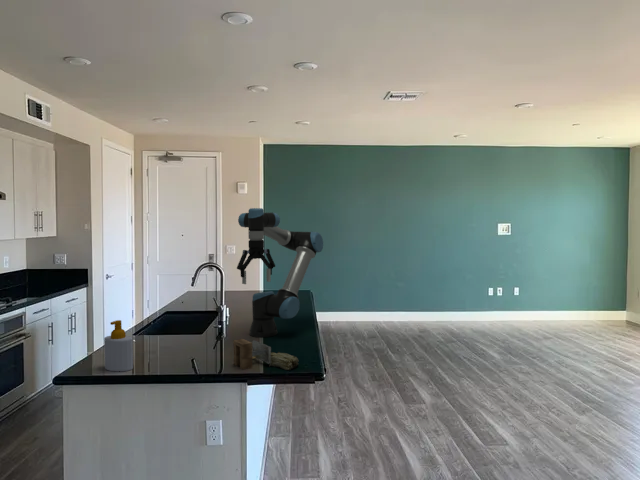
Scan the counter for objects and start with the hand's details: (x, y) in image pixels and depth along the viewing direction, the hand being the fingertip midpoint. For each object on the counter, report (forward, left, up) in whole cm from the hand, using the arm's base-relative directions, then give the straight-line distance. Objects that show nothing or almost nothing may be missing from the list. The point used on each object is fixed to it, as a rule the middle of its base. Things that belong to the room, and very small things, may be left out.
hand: (256, 282), depth 224 cm
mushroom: (+6, +33, -32) cm, 47 cm away
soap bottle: (+63, -6, -32) cm, 71 cm away
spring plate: (+16, +25, -30) cm, 42 cm away
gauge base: (+16, +21, -32) cm, 41 cm away
